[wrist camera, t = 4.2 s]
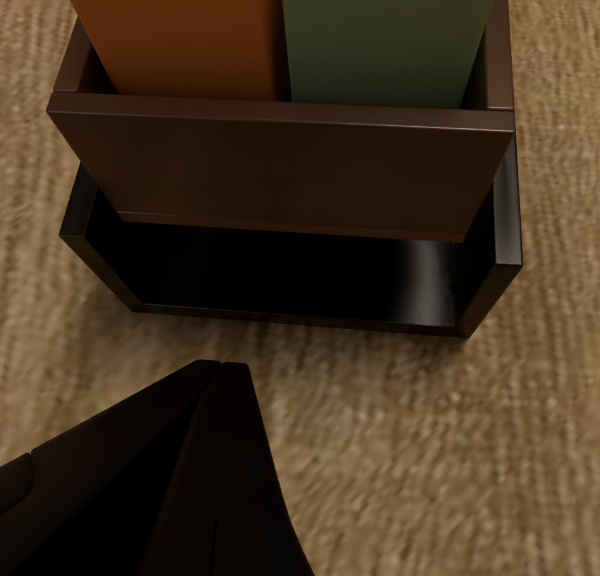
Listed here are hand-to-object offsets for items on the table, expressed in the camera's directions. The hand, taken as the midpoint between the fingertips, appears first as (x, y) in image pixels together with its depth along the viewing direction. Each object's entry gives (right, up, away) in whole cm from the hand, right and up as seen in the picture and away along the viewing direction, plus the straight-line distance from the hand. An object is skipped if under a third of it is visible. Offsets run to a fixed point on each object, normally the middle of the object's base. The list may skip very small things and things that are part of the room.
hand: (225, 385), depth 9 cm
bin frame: (+2, +4, +14) cm, 15 cm away
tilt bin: (+1, +6, +9) cm, 11 cm away
